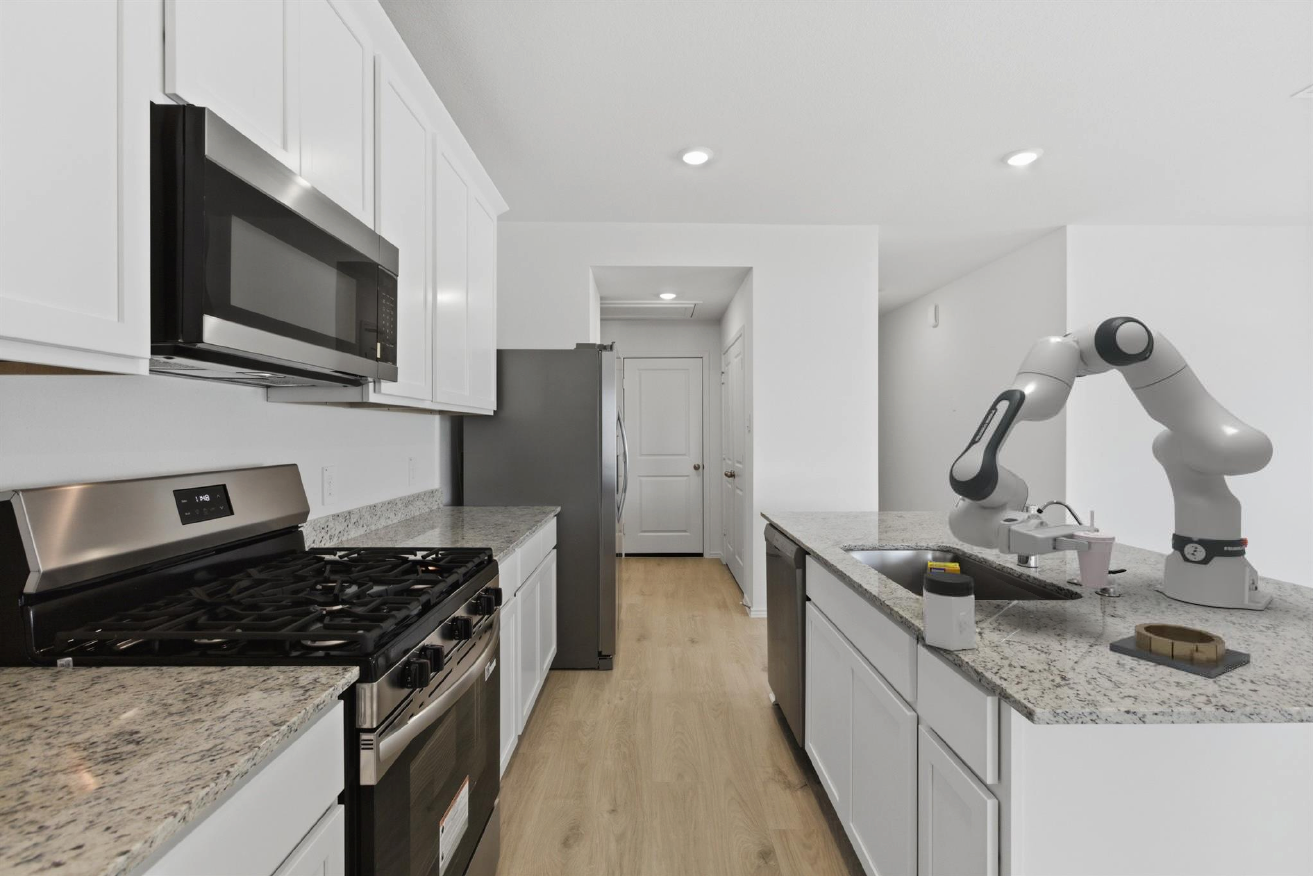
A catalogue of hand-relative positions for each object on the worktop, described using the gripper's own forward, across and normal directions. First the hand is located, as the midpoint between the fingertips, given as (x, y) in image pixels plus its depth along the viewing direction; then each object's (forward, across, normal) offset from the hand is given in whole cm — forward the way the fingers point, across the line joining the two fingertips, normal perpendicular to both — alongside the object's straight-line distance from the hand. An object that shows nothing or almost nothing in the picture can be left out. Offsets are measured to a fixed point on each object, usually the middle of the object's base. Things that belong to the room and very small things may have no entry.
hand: (1099, 544), depth 115 cm
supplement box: (-21, +16, -17) cm, 31 cm away
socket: (+12, 0, -17) cm, 21 cm away
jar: (-11, +28, -17) cm, 34 cm away
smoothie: (-1, 0, -8) cm, 8 cm away
